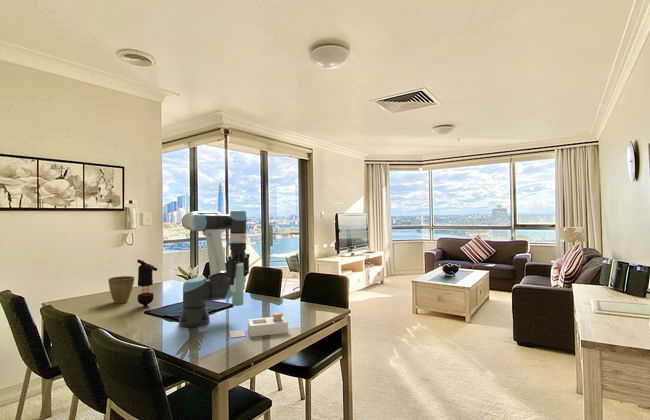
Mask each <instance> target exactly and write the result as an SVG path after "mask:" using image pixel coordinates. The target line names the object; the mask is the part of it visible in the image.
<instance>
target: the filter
mask: <svg viewBox="0 0 650 420" xmlns="http://www.w3.org/2000/svg"><path fill="white" fill-rule="evenodd" d="M136 262H137V263H138V264H139V266H138V269H137V270H138V271H137V272H138V274H137V275H138V276H137V286H138V287H142V290H141V291H142V293H138V294H137V302H138V304H140V305H142V306H143V308H145V307H149V304H151V303H152V302H153V301H154V295H155V293H153V292H150V291H149V290H150V289H149V287H150V286H152V285H154V283H153V281H154V280H153V271H154V272H156V271H158V268H157V267H156V266H154V265H152V264H149V263H147V262H145V261H144V260H141V259H137V261H136ZM144 287H145V288H146V292H145V288H144Z"/></svg>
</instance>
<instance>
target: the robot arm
mask: <svg viewBox="0 0 650 420" xmlns="http://www.w3.org/2000/svg"><path fill="white" fill-rule="evenodd" d="M181 224H182V227H183V228H184V229H186V230H189V231H191V232H192V231H194V232H202V235H203V236H204V237H205V240H206V248H207V255H208V256H207V257H208V264H209V271H210V272H209V273H210V275H208V277H205V276H201V277H193V278H190V279H187V280H185V281H184V283H182V284H183V285H182V309H181V310H182V312H181V314H180V317H179V319H178V325H179V326H180V327H183V328H198V327H202V326H205V325H207V324H209V323H210V321H211V319H210V315H209V312H208V309H207V302H214V301H221V300H227V299H232V292H236V278H234V277H235V273H236V267H237V264H238V262H240V263H243V265H244V278H243V291H244V290H245V289H246V278H247V277H248V274H250V260H249V259H250V257H251V256H250V255H251V254H250V253H246V250H247V243H246V242H247V211H245V210H237V209H236V210H230V214H224V213H222V212H220V211H191V212H186V213H185V214H184V215H183V216H182V218H181ZM224 230H229V231H230V232H229V233H230V234H229V241H230V242H229V250H230V254H229V255H226V256H225V254H224V246H223V240H222V234H223V232H224Z"/></svg>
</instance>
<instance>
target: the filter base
mask: <svg viewBox="0 0 650 420" xmlns="http://www.w3.org/2000/svg"><path fill="white" fill-rule="evenodd" d="M288 323H289V322H288V321H287V319H286V318H285V316H283V317H281V321H275V322H274V318H273V316H270V317H269V316H268V317H260V318H259V317H257V318H248V319H247V332H248V333H249V336H250V337H251V338H252V337H259V336H260V337H261V336H269V335H279V334H288V332H289V328H288V327H289V326H288V325H289V324H288Z"/></svg>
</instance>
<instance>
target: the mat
mask: <svg viewBox="0 0 650 420" xmlns="http://www.w3.org/2000/svg"><path fill="white" fill-rule="evenodd" d="M245 331H246V330H245V329H237V330H236V329H235V330H229V337H230V338H229V339H236V338H245V337H246V332H245Z"/></svg>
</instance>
